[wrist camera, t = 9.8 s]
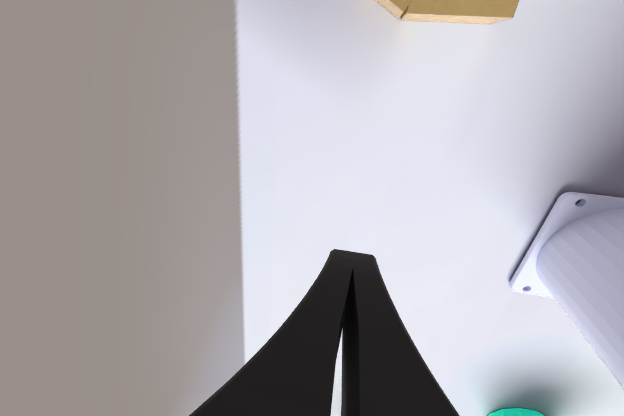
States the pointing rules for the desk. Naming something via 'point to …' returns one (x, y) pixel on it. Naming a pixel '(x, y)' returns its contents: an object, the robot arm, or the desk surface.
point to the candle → (515, 412)
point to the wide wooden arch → (452, 10)
